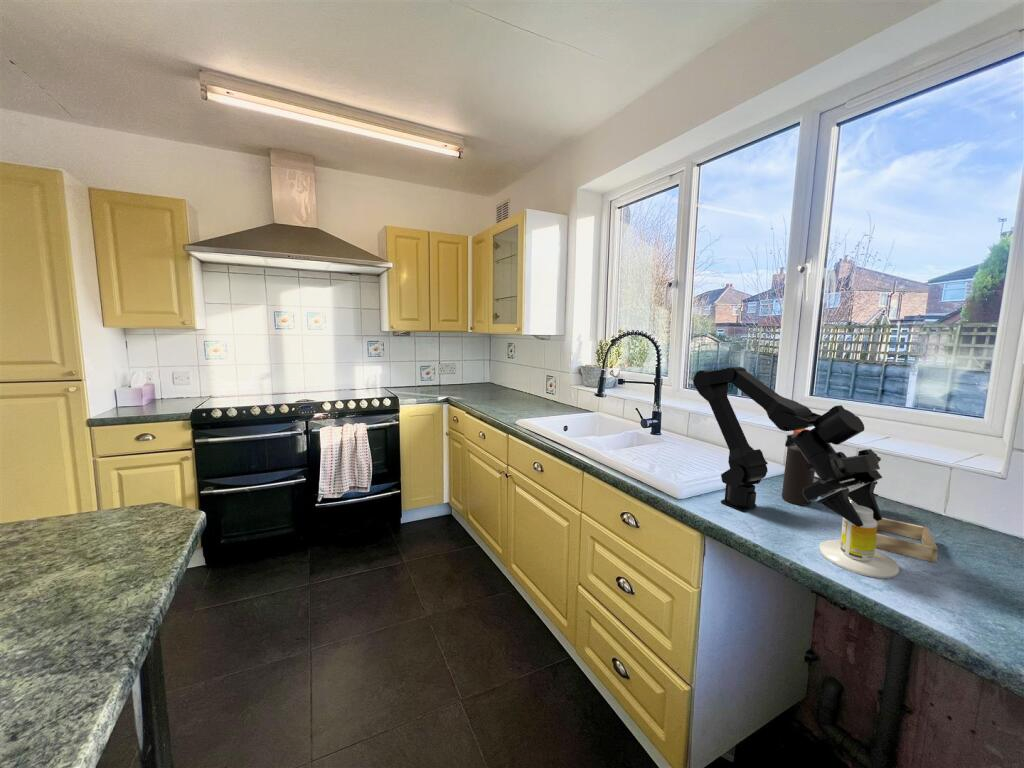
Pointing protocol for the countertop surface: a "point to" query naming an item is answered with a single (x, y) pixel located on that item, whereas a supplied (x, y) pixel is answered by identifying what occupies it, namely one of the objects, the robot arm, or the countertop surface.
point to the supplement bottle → (859, 536)
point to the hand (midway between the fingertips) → (870, 523)
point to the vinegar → (796, 475)
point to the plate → (874, 568)
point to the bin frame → (903, 546)
